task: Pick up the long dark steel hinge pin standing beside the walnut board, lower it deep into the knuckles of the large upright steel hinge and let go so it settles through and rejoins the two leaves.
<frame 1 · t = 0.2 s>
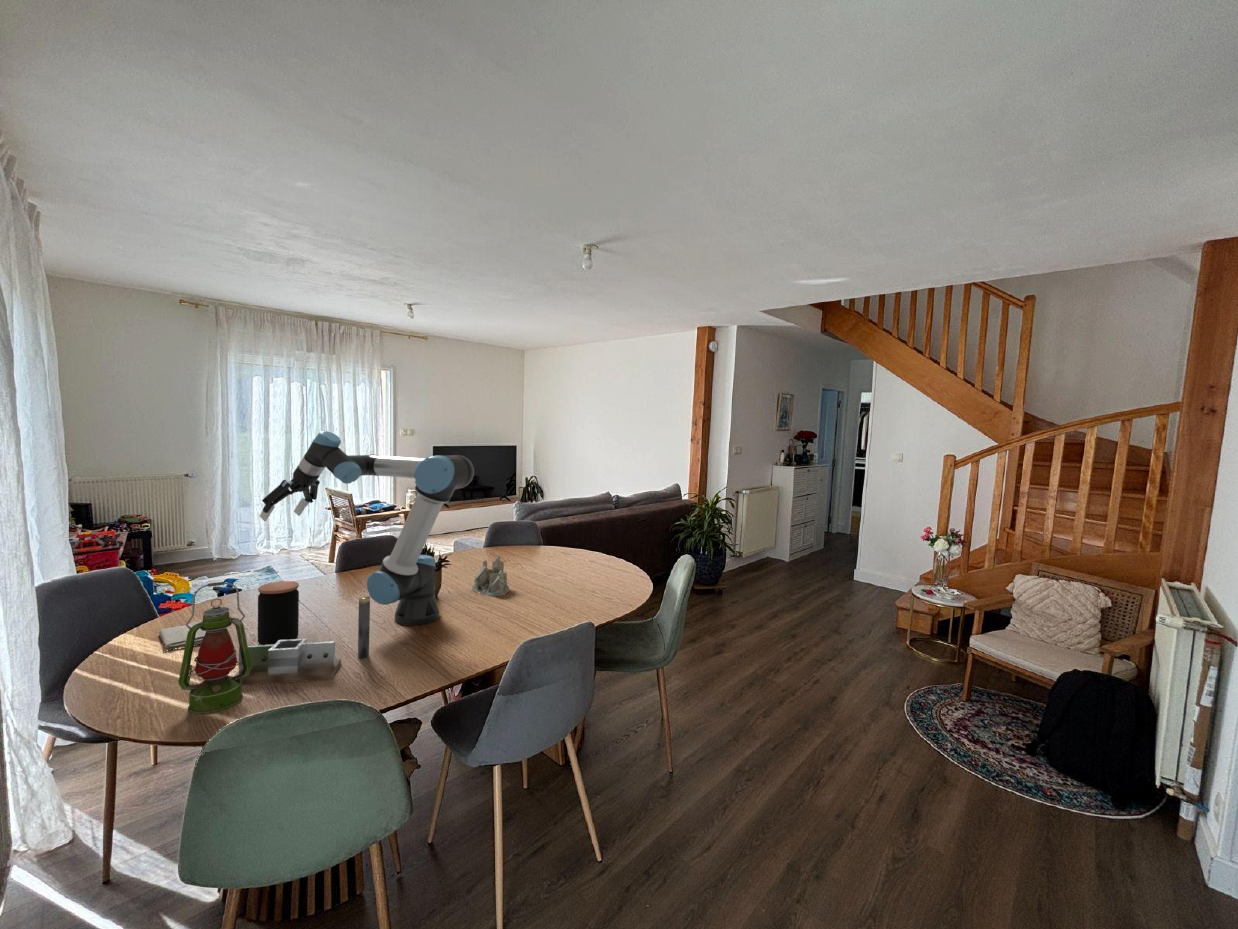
hand: (280, 515, 180), 36 cm above the table, tool tilted 35°, fingers open, 13 cm apart
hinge: (288, 656, 138), on the hinge board, point 5 cm above the table
hinge board: (287, 674, 138), on the table
coffee jar: (278, 642, 159), on the table
washcloth: (186, 640, 158), on the table
ceramic cottage: (490, 591, 219), on the table
pin: (363, 656, 151), on the table
lantern: (216, 704, 122), on the table
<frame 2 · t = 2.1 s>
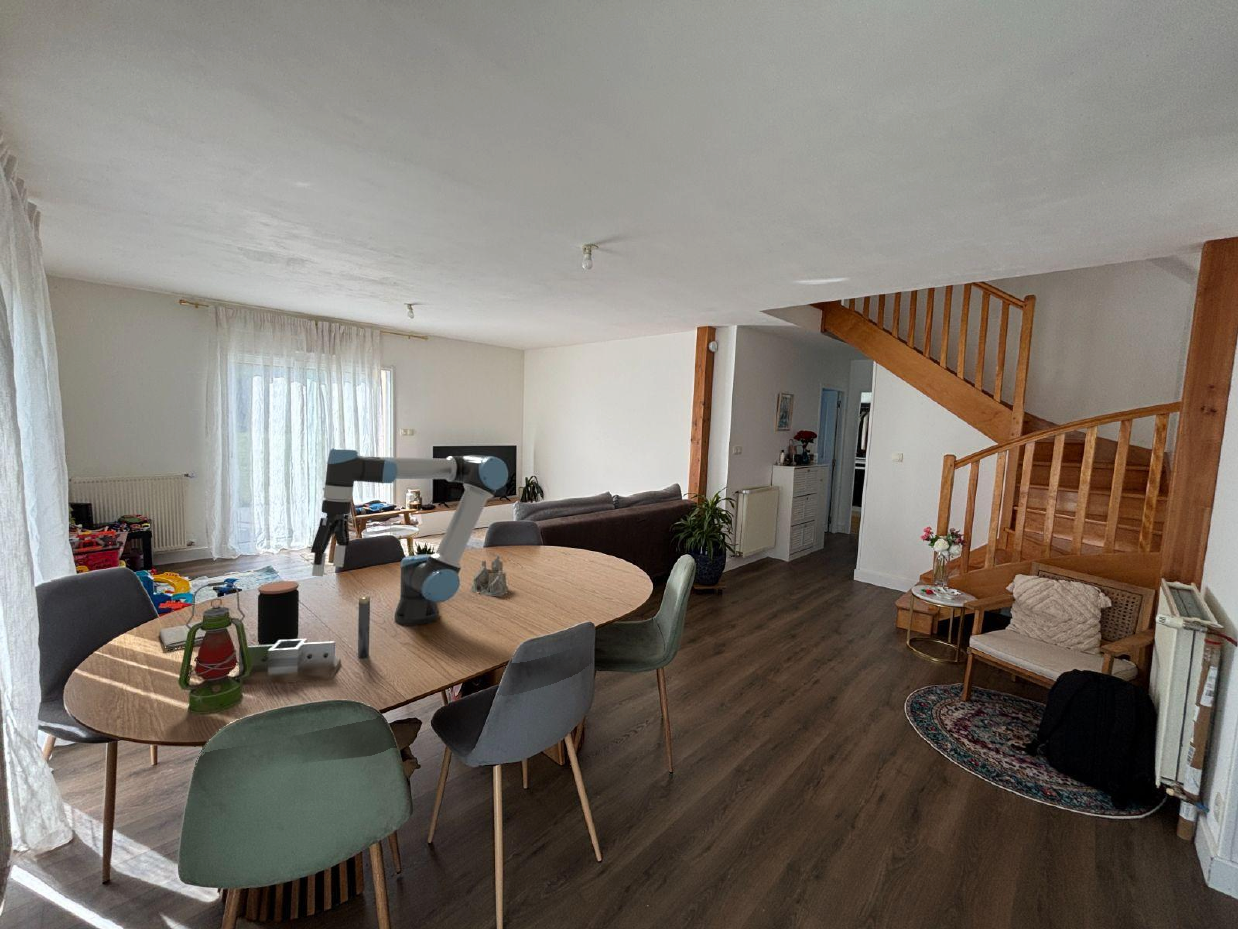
hand: (328, 571, 149), 26 cm above the table, tool pointing down, fingers open, 13 cm apart
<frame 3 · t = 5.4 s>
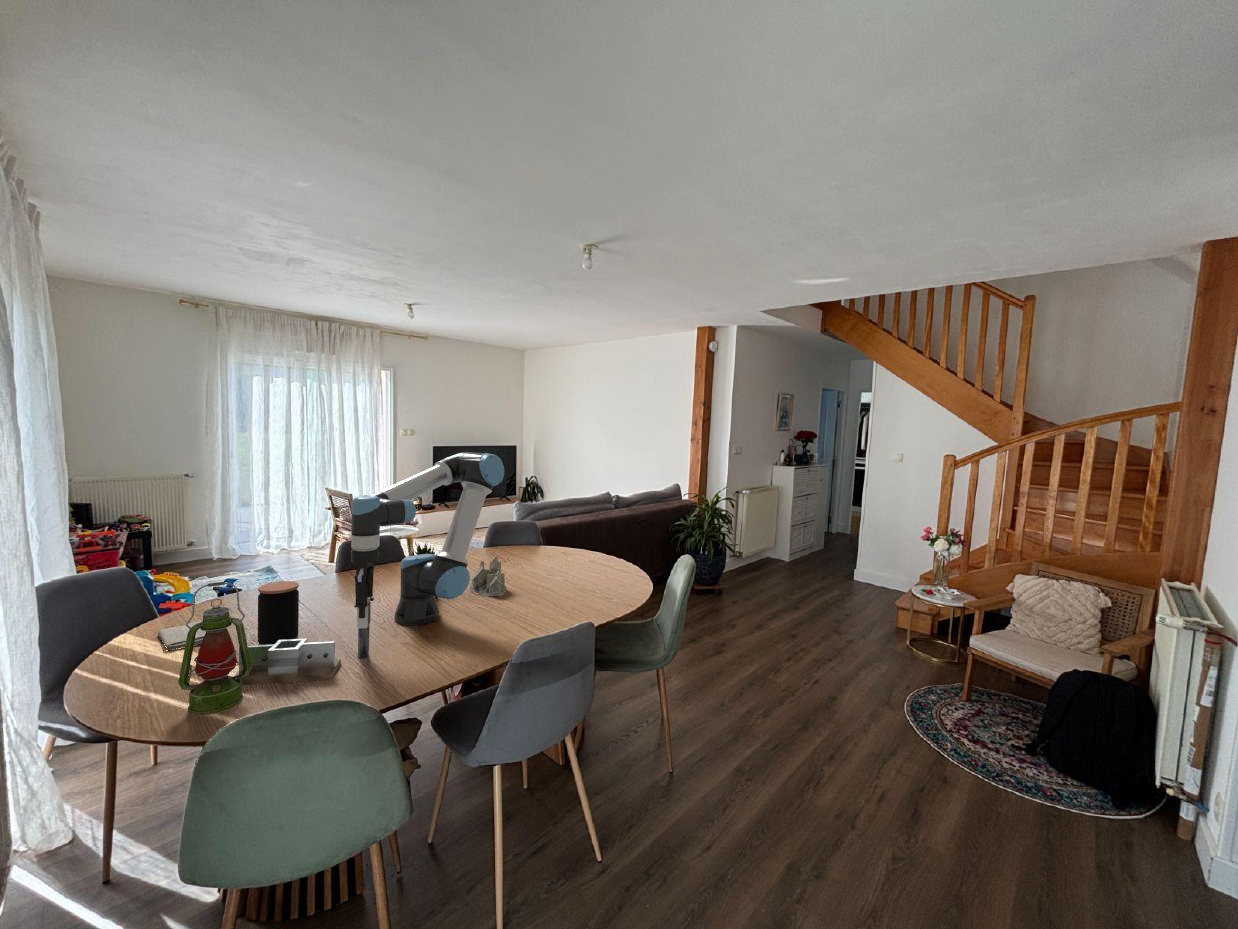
hand: (363, 625, 150), 10 cm above the table, tool pointing down, fingers closed on pin, 3 cm apart
pin: (363, 656, 151), on the table, touching gripper
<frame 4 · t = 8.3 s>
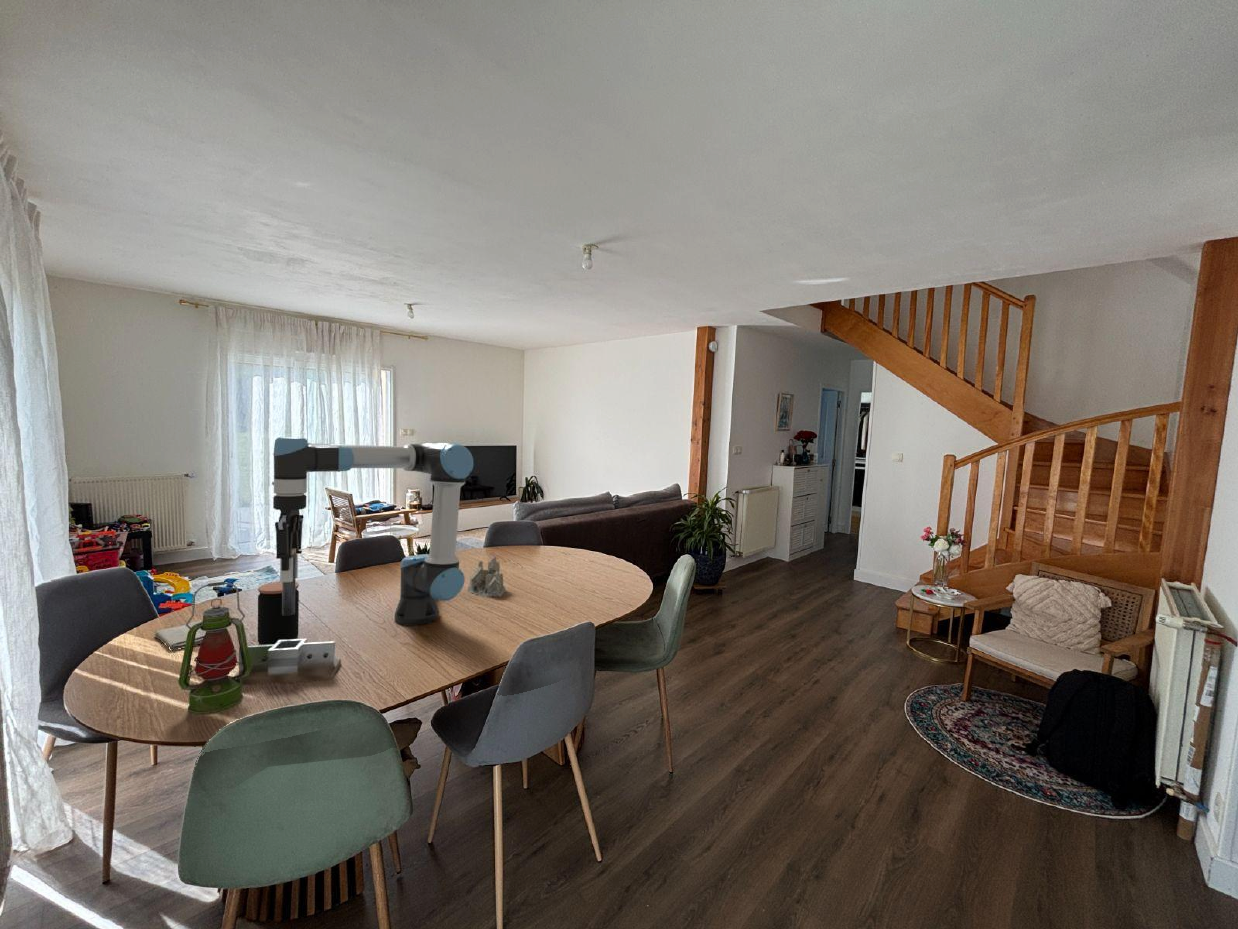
hand: (289, 579, 137), 27 cm above the table, tool pointing down, fingers closed on pin, 3 cm apart
pin: (288, 614, 137), point 17 cm above the table, touching gripper
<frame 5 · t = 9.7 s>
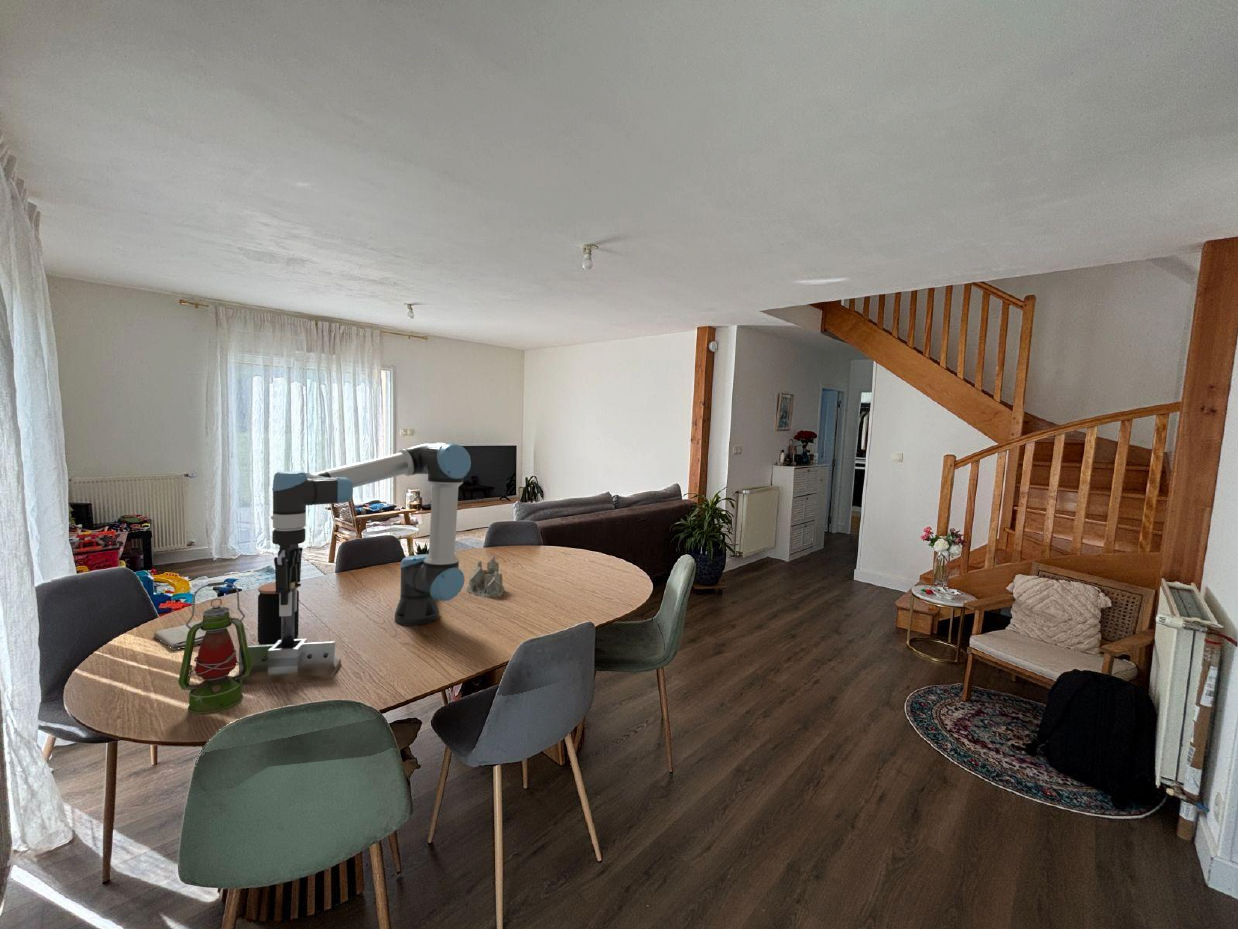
hand: (288, 613, 137), 17 cm above the table, tool pointing down, fingers closed on pin, 3 cm apart
pin: (287, 647, 138), point 8 cm above the table, touching gripper
when the fingers open (13 cm above the table, at t = 11.2 s): pin drops 2 cm, resting on hinge board.
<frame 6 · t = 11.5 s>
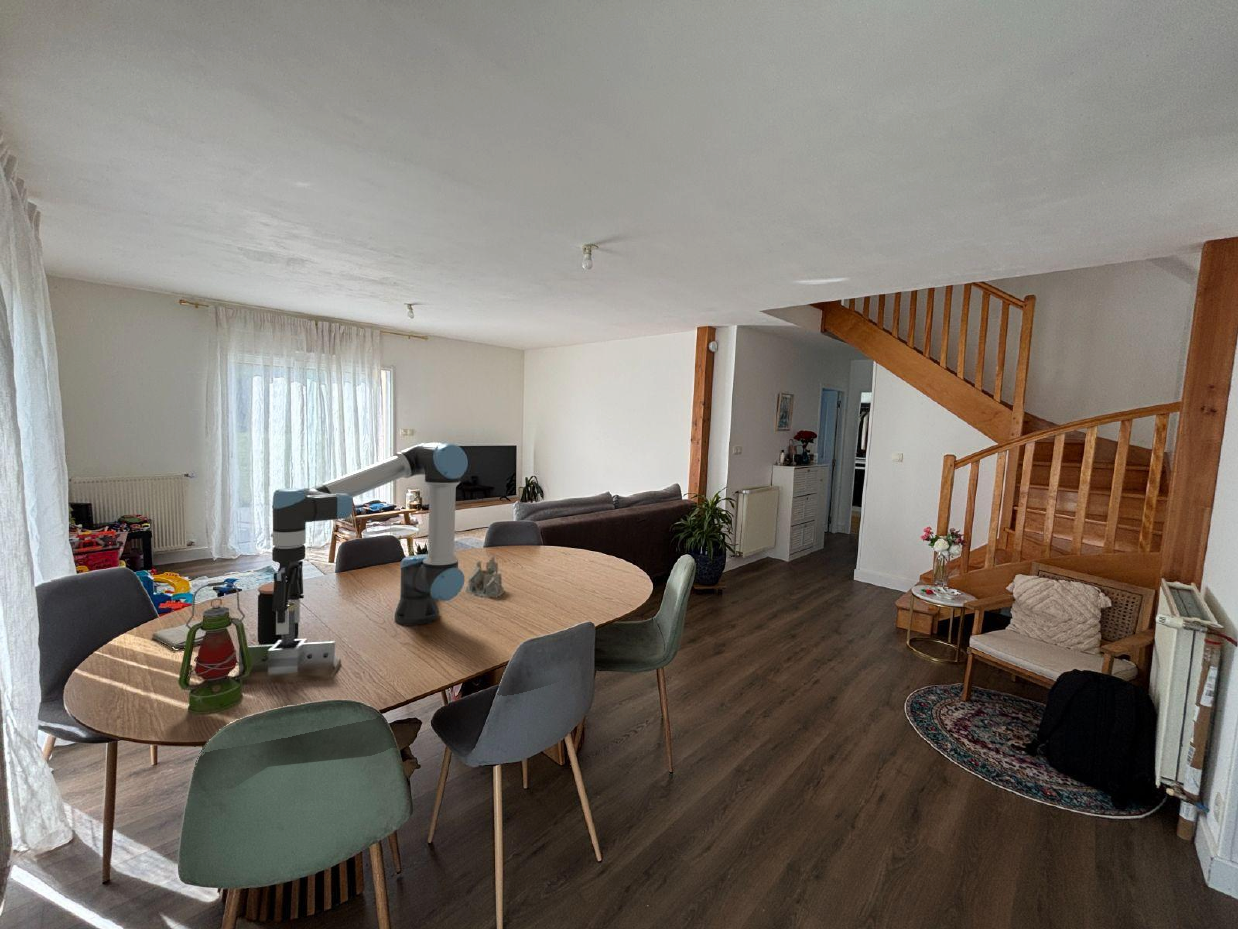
hand: (288, 628, 137), 13 cm above the table, tool pointing down, fingers open, 7 cm apart
pin: (288, 669, 138), point 2 cm above the table, touching hinge board
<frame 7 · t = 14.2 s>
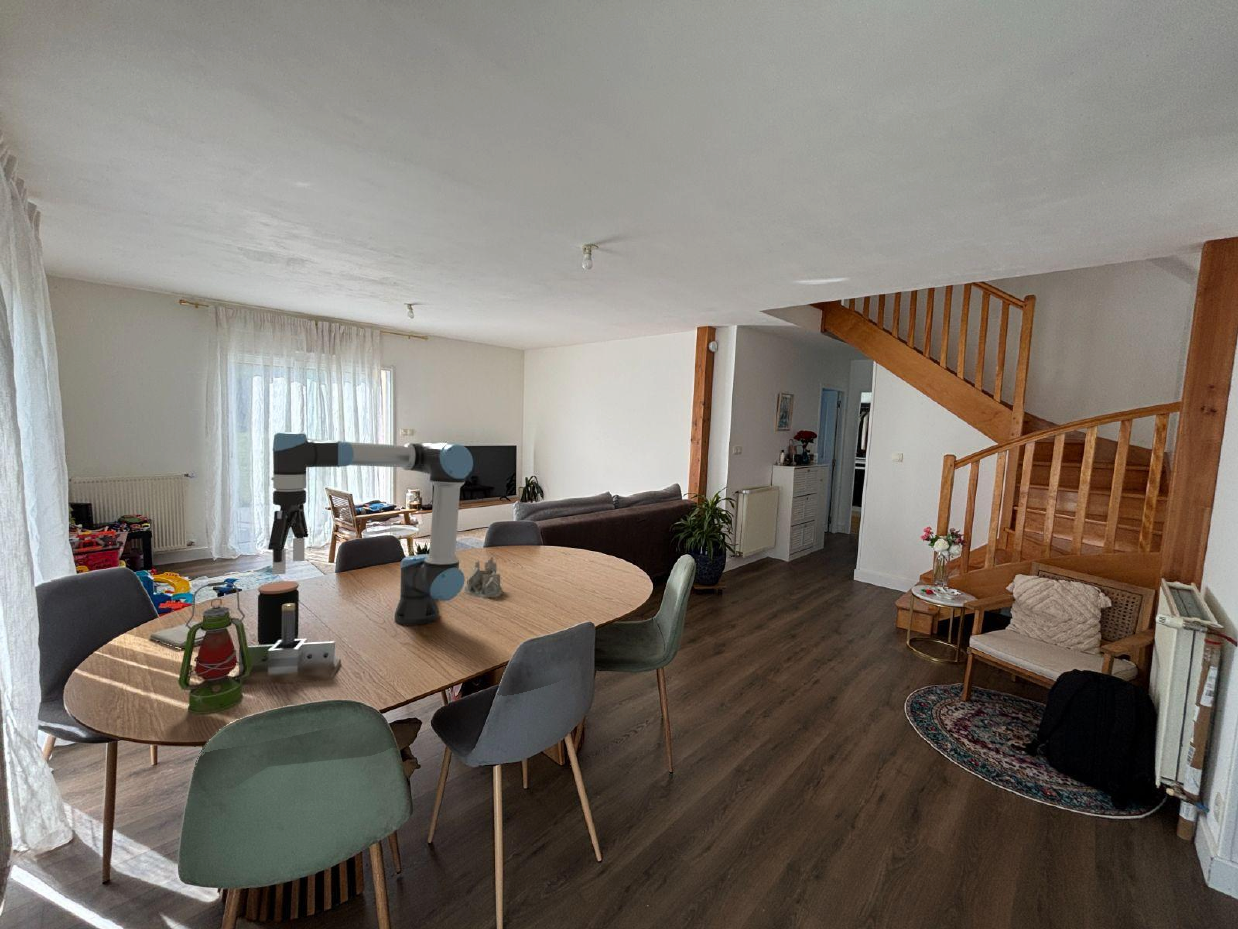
hand: (289, 567, 137), 30 cm above the table, tool pointing down, fingers open, 13 cm apart
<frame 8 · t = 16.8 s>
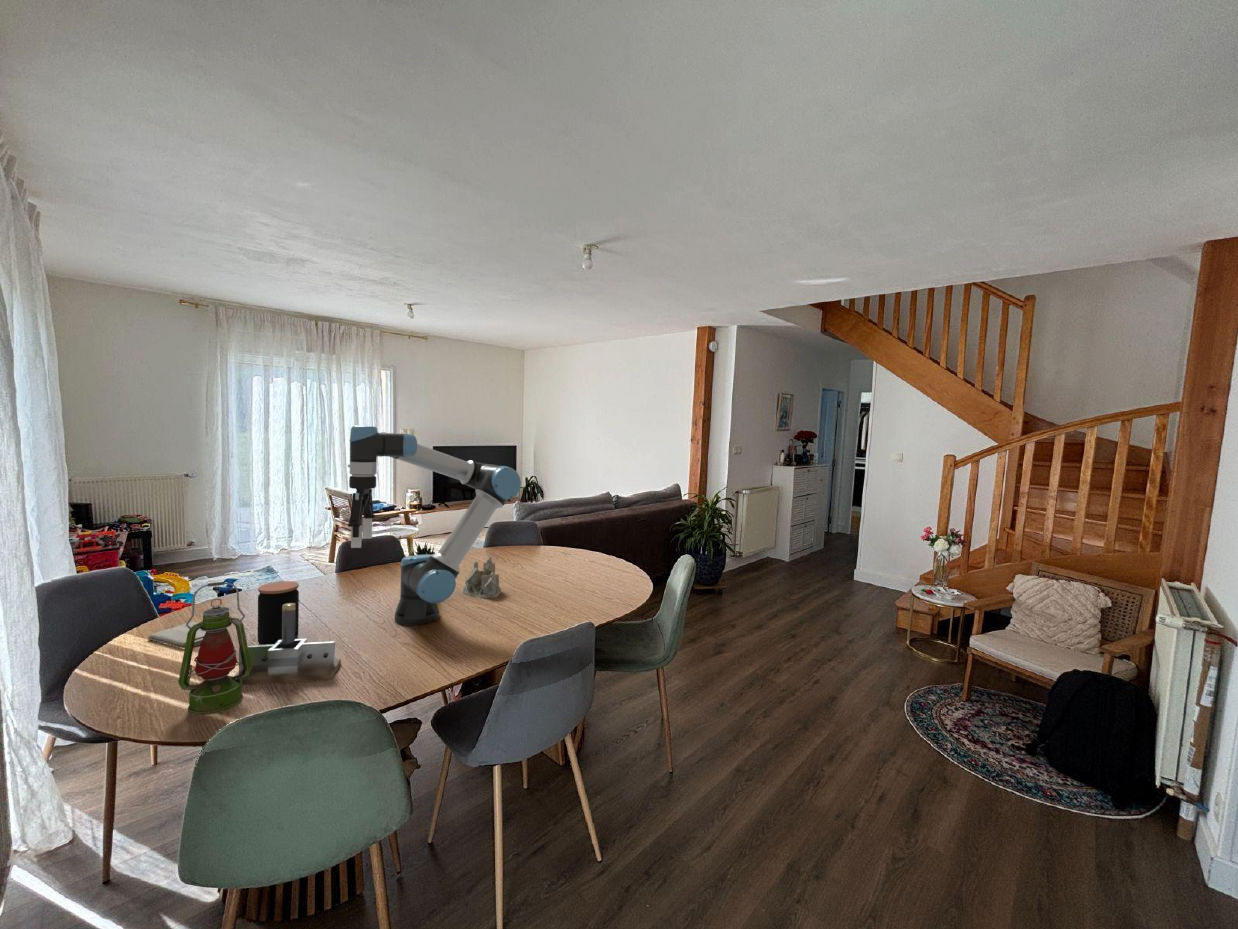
hand: (361, 542, 157), 33 cm above the table, tool pointing down, fingers open, 13 cm apart
at the end: pin 0.0 cm off-centre on the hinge, point 1.5 cm above the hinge's base; pin tilted 0°; the gripper is holding nothing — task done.
